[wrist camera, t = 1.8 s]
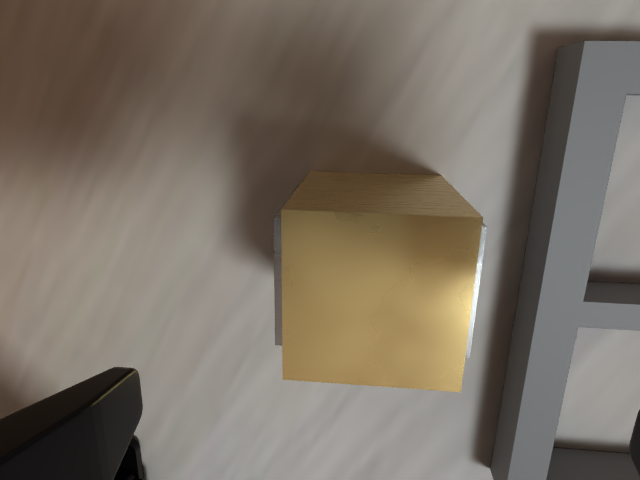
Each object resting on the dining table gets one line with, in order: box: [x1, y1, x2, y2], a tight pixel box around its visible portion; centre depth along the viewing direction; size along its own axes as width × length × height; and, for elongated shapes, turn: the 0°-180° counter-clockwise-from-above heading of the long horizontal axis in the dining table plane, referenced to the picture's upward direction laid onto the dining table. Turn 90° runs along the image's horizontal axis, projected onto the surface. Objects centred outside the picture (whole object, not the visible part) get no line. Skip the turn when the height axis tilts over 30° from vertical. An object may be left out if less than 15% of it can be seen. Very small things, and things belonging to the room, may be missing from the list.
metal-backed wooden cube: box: [274, 171, 487, 392], centre depth 15 cm, size 6×5×6 cm
